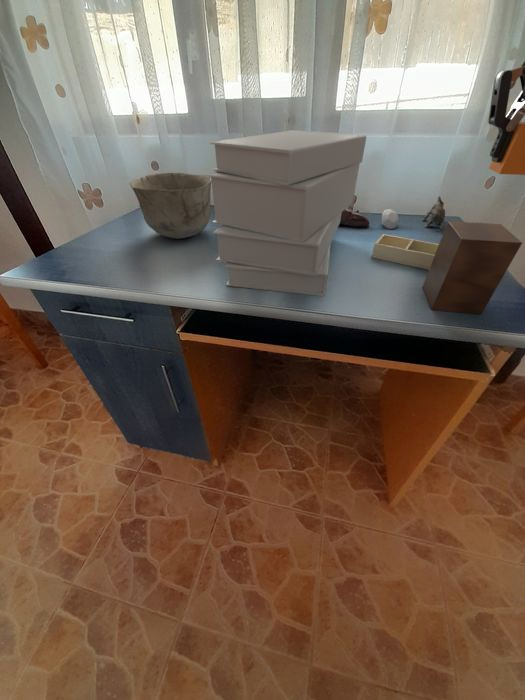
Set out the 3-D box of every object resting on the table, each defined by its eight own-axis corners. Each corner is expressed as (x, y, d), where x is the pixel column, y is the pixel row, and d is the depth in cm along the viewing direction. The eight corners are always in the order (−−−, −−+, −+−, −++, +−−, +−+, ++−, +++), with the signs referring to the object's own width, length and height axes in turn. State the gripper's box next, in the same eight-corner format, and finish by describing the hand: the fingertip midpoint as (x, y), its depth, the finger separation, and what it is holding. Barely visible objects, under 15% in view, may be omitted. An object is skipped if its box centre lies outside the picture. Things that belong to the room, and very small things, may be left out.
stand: (466, 291, 63) (500, 224, 54) (481, 314, 57) (522, 242, 48) (422, 287, 65) (447, 221, 56) (431, 310, 58) (462, 239, 49)
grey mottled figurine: (421, 219, 99) (429, 194, 94) (440, 220, 97) (450, 196, 92) (422, 231, 90) (430, 204, 86) (442, 233, 89) (453, 206, 84)
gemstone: (386, 211, 96) (396, 204, 91) (392, 229, 97) (404, 223, 92) (371, 217, 95) (381, 210, 90) (378, 236, 95) (388, 230, 90)
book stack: (345, 238, 87) (364, 129, 70) (345, 301, 61) (375, 152, 44) (245, 231, 91) (240, 128, 75) (206, 287, 66) (185, 149, 49)
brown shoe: (324, 229, 100) (346, 206, 99) (352, 245, 94) (375, 221, 94) (321, 215, 94) (344, 191, 94) (350, 232, 88) (375, 206, 88)
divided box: (468, 278, 68) (475, 263, 65) (371, 257, 77) (374, 243, 74) (471, 265, 73) (478, 251, 70) (379, 247, 82) (383, 233, 79)
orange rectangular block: (519, 169, 47) (542, 121, 43) (533, 175, 44) (559, 124, 40) (488, 168, 48) (508, 121, 44) (499, 174, 44) (522, 124, 41)
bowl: (167, 220, 100) (157, 169, 90) (228, 226, 96) (223, 173, 86) (128, 245, 85) (110, 186, 75) (198, 253, 80) (189, 192, 70)
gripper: (542, -18, 32) (471, 165, 43) (702, -29, 30) (583, 167, 41) (512, -2, 38) (456, 157, 49) (646, -10, 35) (554, 158, 47)
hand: (514, 161), depth 45 cm, fingers closed on orange rectangular block, 4 cm apart
